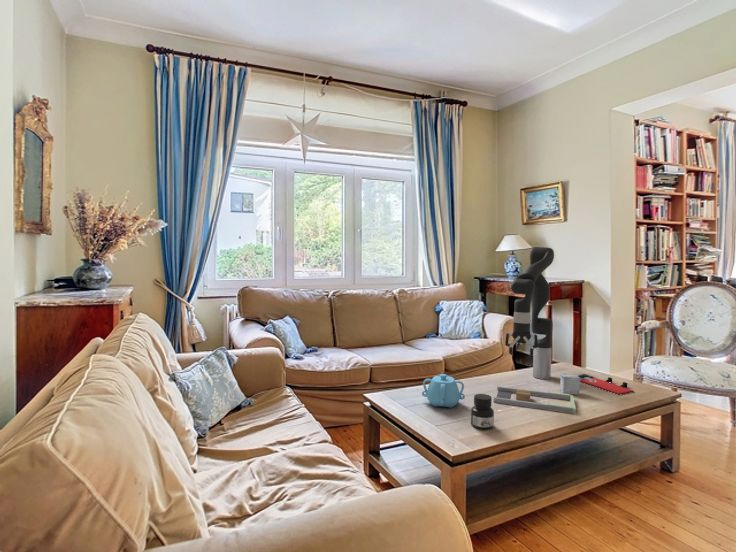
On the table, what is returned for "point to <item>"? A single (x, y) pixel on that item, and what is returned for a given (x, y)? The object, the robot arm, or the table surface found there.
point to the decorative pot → (443, 391)
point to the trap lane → (505, 394)
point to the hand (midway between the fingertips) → (520, 355)
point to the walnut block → (523, 395)
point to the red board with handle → (605, 384)
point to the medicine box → (570, 384)
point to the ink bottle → (482, 412)
